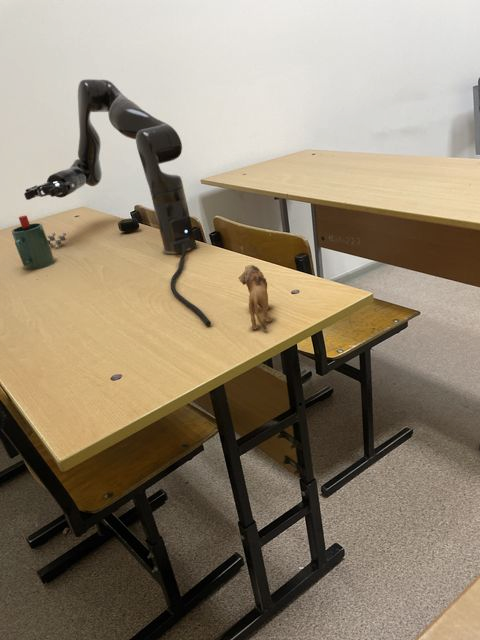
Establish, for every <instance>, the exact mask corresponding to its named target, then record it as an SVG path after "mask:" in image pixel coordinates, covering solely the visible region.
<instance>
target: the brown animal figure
mask: <svg viewBox="0 0 480 640" xmlns="http://www.w3.org/2000/svg"><path fill="white" fill-rule="evenodd" d="M238 280H239V282H240V283H241V284H242V286H244V285H246V287H247V290H248V293H249V296H248V309H249V314H250V315H249V316H250V322H251V329H252V330H257V329H258V327H259V326H258V325H257V322H256V321H258V323H259V324H260V326H261V328H262V329H263V330H264V331H267V330H268V327H267V326H266V324H264V322H263V321H262V319H261V316H260V312H259V308H260V310H261V311H262V312H263V318H264V319H265V321H266V322H267V323H268V322H269V323H270V322H272V321H273V318H272V317H271V316H269V312H268V310H269V309H270V308H271V306H270V305H269V294H268V282H267V279H266V277H265V276H264V273H263V272H262V271H261V269H260V268H259V267H258V266H256V265H254V264H249V265H246V266H245V267H244V271H243V272H242V274H241V275H240V276H238ZM256 319H257V320H256Z"/></svg>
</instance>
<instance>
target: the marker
mask: <svg viewBox="0 0 480 640" xmlns="http://www.w3.org/2000/svg"><path fill="white" fill-rule="evenodd" d="M28 218H29V217H28V216H27V215H21V216H19V217H18V220H19V223H20V225H21V226H22V228H23V230H24V231H26V230H30V229H31V227H30V224H31V223H30V221H29V219H28Z"/></svg>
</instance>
